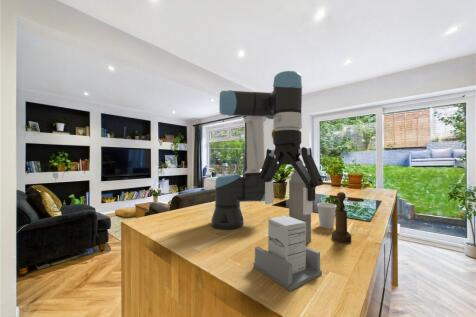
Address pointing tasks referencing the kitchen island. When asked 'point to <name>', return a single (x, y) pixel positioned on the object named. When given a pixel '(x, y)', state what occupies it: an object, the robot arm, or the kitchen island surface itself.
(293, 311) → the kitchen island surface
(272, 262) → the holder
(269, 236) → the supplement box
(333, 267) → the kitchen island surface
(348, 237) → the brown wooden turned piece
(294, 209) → the thermos bottle
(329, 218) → the dixie cup
